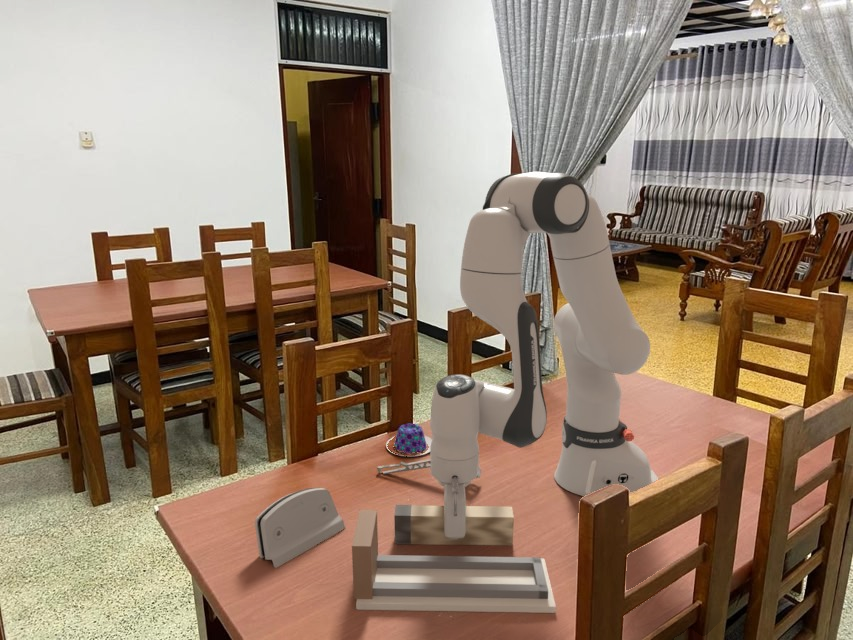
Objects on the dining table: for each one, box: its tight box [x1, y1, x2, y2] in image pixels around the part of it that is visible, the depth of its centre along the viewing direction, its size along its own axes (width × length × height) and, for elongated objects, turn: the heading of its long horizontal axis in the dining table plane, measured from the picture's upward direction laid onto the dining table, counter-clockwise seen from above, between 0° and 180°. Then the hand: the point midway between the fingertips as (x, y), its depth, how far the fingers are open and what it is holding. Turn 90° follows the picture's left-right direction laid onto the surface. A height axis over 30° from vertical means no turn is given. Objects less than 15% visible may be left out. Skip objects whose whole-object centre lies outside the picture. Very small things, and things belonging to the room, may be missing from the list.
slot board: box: [351, 509, 557, 614], centre depth 106 cm, size 32×12×11 cm, turn 89°
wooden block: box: [393, 504, 515, 546], centre depth 120 cm, size 22×4×6 cm, turn 89°
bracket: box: [376, 458, 482, 479], centre depth 141 cm, size 3×21×10 cm, turn 78°
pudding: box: [385, 422, 433, 458], centre depth 155 cm, size 12×12×5 cm
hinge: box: [254, 487, 346, 569], centre depth 119 cm, size 17×5×10 cm, turn 137°
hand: (453, 529), depth 120 cm, fingers closed on wooden block, 3 cm apart
